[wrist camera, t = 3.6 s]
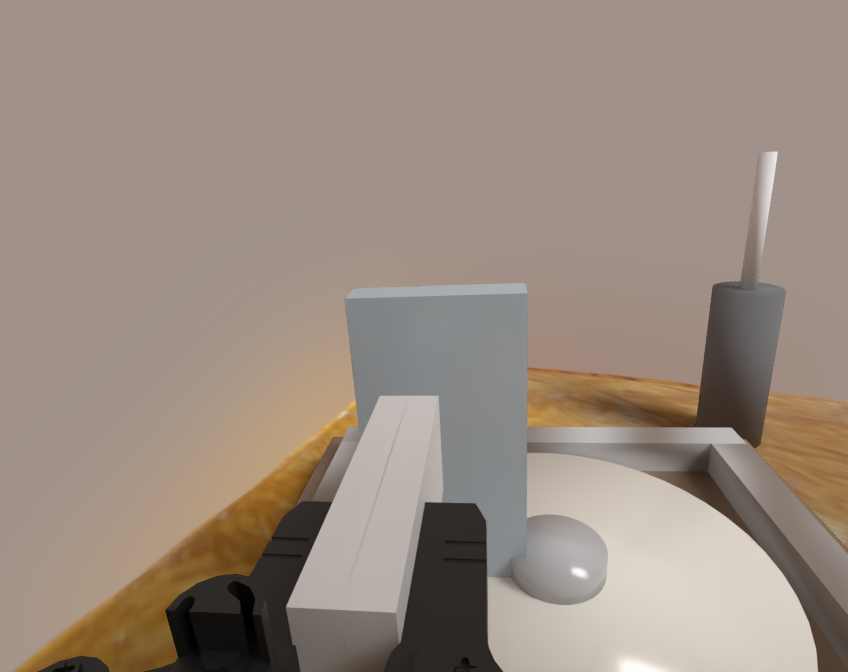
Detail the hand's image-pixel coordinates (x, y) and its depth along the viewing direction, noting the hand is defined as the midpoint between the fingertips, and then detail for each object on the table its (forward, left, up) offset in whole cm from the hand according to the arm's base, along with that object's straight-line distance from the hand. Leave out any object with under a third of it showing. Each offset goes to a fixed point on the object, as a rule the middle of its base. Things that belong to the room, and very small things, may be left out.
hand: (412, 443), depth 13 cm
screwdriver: (-16, -18, -10) cm, 26 cm away
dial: (-4, -3, -8) cm, 9 cm away
